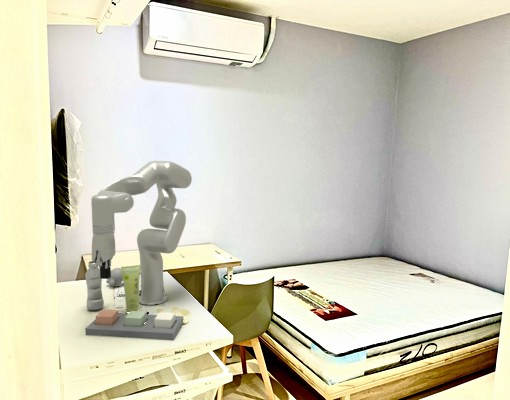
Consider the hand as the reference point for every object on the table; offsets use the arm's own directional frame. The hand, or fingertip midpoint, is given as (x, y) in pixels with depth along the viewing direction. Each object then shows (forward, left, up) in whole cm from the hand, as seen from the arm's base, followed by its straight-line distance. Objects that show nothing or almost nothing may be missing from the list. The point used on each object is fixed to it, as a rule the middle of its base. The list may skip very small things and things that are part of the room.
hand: (105, 277), depth 151 cm
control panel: (0, +11, -19) cm, 22 cm away
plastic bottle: (-15, -12, -19) cm, 27 cm away
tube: (-14, +4, -19) cm, 24 cm away
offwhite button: (0, +22, -17) cm, 28 cm away
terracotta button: (0, 0, -17) cm, 17 cm away
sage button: (0, +11, -17) cm, 20 cm away
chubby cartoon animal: (-43, -13, -19) cm, 49 cm away
